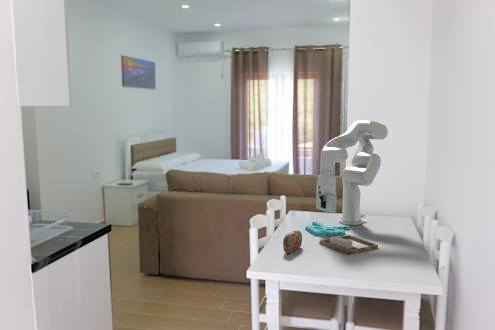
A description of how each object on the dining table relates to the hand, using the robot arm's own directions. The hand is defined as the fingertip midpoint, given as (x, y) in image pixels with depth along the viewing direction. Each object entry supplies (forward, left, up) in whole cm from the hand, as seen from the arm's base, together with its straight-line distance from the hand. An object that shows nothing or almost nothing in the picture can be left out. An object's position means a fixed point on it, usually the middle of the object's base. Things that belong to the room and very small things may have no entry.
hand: (325, 207), depth 225 cm
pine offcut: (+12, +24, -13) cm, 30 cm away
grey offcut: (+12, +24, -11) cm, 29 cm away
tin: (+34, +16, -13) cm, 40 cm away
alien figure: (0, 0, -14) cm, 14 cm away
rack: (+7, +24, -13) cm, 28 cm away
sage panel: (0, 0, -2) cm, 2 cm away
